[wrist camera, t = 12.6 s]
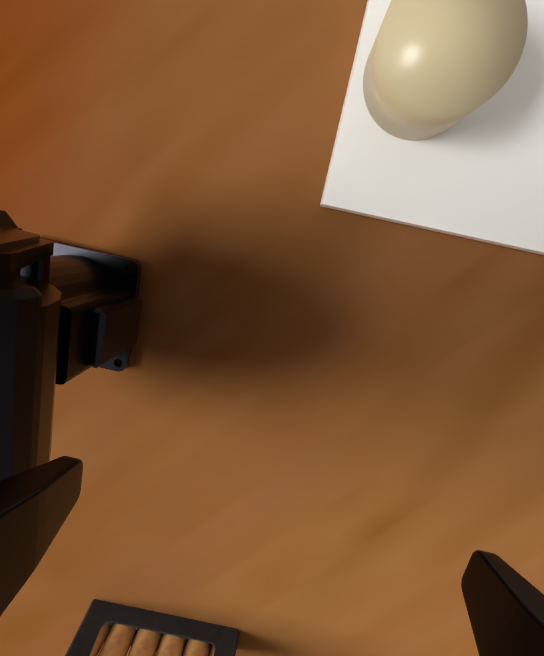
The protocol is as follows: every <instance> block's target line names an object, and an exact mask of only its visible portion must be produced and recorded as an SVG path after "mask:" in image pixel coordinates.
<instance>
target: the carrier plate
mask: <svg viewBox="0 0 544 656" xmlns="http://www.w3.org/2000/svg"><path fill="white" fill-rule="evenodd" d="M320 206H322V207H326V208H331V209H335V210H340V211H344V212H349V213H354V214H358V215H363V216H367V217H372V218H376V219H381V220H386V221H390V222H395V223H399V224H404V225H408V226H413V227H418V228H422V229H427V230H431V231H436V232H440V233H445V234H450V235H454V236H459V237H463V238H468V239H472V240H477V241H481V242H486V243H491V244H495V245H500V246H504V247H509V248H513V249H518V250H523V251H527V252H532V253H536V254H541V255H544V0H368V1H367V6H366V10H365V14H364V18H363V23H362V27H361V31H360V36H359V40H358V44H357V48H356V53H355V57H354V61H353V66H352V70H351V74H350V78H349V83H348V87H347V91H346V96H345V100H344V104H343V108H342V113H341V117H340V121H339V126H338V130H337V134H336V138H335V143H334V147H333V151H332V156H331V160H330V164H329V168H328V173H327V177H326V181H325V186H324V190H323V194H322V198H321V203H320Z"/></svg>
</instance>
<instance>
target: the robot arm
mask: <svg viewBox="0 0 544 656" xmlns="http://www.w3.org/2000/svg"><path fill="white" fill-rule="evenodd" d="M129 264H131V265H132V266H133V269H134V270H133V272H132V273H131V272H129V270H128V265H129ZM140 274H141V266H140V264H139V262H138V261H136V260H134V259H131V258H126V257H122V256H117V255H112V254H108V253H103V252H99V251H94V250H90V249H85V248H81V247H76V246H72V245H67V244H63V243H58V242H54V241H51V240H47V239H42V238H40V235H37V234H33V233H30V232H26V231H22V229H21V228H18V227H17V226H16V225H15V223H14V222H13V221H12V219H11V218H10V217H9V215H8V214H7V213H6V211H2V210H0V616H1V615H2V613H3V612H4V611H5V609H6V608H7V606H8V605H9V604H10V602H11V601H12V600H13V598H14V597H15V596H16V594H17V593H18V592H19V590H20V589H21V588H22V586H23V585H24V584H25V582H26V581H27V580H28V578H29V577H30V575H31V574H32V573H33V571H34V570H35V568H36V567H37V565H38V564H39V562H40V560H41V559H42V557H43V556H44V554H45V552H46V551H47V549H48V547H49V546H50V544H51V543H52V541H53V539H54V538H55V536H56V534H57V533H58V531H59V529H60V528H61V526H62V525H63V523H64V521H65V520H66V518H67V516H68V515H69V513H70V511H71V510H72V508H73V507H74V505H75V503H76V502H77V500H78V497H79V495H80V490H81V481H82V471H83V463H82V461H81V460H80V459H77V458H72V457H68V456H63V457H60V458H57V459H54V460H52V461H49V459H50V452H51V439H52V424H53V410H54V396H55V384H59V385H61V384H64V383H66V382H67V381H69V380H71V379H72V378H74V377H76V376H77V375H79V374H80V373H82V372H84V371H85V370H87V369H88V368H90V367H94V368H98V367H100V368H105V369H109V370H114V371H123V370H124V369H126V368H127V367H128V366H129V363H130V356H131V347H132V345H133V344H135V343H136V341H137V333H138V325H139V317H140V309H141V300H140V299H139V297H138V291H139V283H140ZM117 359H120V360H121V361H122V365H120V364H118V362H117ZM461 586H462V592H463V596H464V600H465V603H466V607H467V611H468V615H469V619H470V622H471V626H472V630H473V634H474V637H475V641H476V645H477V649H478V652H479V656H544V595H543V594H542V593H541V592H540V591H539V590H538V589H536V588H535V587H534V586H533V585H532V584H531V583H529V582H528V581H527V580H526V579H525V578H523V577H522V576H521V575H520V574H519V573H518V572H516V571H515V570H514V569H513V568H512V567H510V566H509V565H508V564H507V563H506V562H505V561H503V560H502V559H501V558H500V557H499V556H497V555H496V554H494V553H490V552H485V551H481V550H476V551H475V552H473V554H472V556H471V558H470V560H469V563H468V565H467V567H466V570H465V572H464V574H463V577H462V583H461Z"/></svg>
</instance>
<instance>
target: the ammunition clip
mask: <svg viewBox="0 0 544 656" xmlns="http://www.w3.org/2000/svg"><path fill="white" fill-rule="evenodd" d="M239 633H240V632H239V631H238V629H235V628H230V627H225V626H221V625H216V624H211V623H206V622H202V621H197V620H192V619H187V618H183V617H178V616H173V615H168V614H163V613H159V612H154V611H149V610H144V609H140V608H135V607H130V606H125V605H120V604H116V603H111V602H106V601H101V600H97V599H94V600H93V601H92V603H91V605H90V607H89V609H88V611H87V613H86V615H85V617H84V619H83V621H82V623H81V625H80V627H79V629H78V631H77V633H76V635H75V637H74V639H73V641H72V643H71V645H70V647H69V649H68V651H67V653H66V655H65V656H97V655H98V653H99V651H100V649H101V651H100V653H99V655H98V656H126V655H127V652H128V650H129V647H130V646H131V648H130V651H129V653H128V656H235V654H236V649H237V643H238V638H239ZM103 643H104V644H103ZM102 645H103V646H102ZM101 647H102V648H101ZM156 651H157V652H156ZM155 653H156V655H155Z"/></svg>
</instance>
